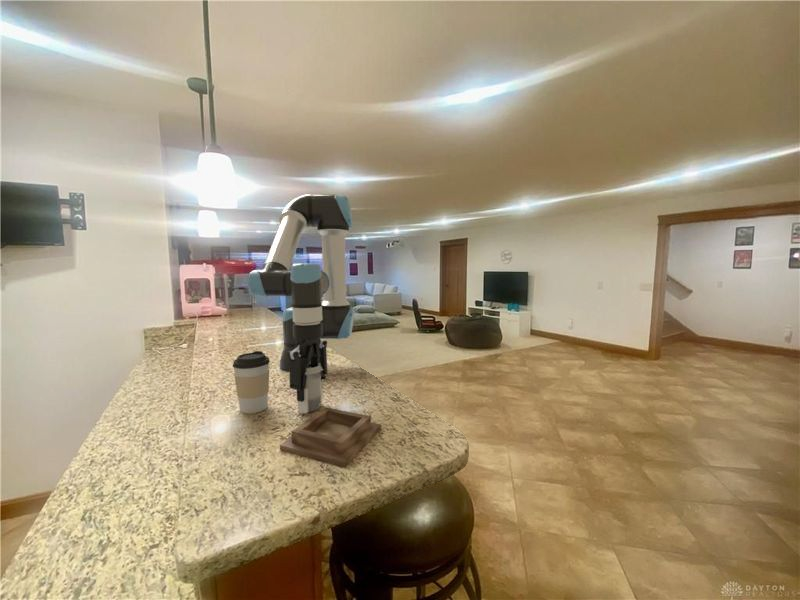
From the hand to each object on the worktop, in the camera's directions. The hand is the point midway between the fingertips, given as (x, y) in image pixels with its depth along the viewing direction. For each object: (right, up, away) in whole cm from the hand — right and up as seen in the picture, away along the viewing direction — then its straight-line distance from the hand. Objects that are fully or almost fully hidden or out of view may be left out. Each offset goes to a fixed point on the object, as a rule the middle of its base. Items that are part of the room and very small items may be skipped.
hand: (310, 406), depth 87 cm
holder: (+9, -2, -15) cm, 17 cm away
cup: (0, -1, 0) cm, 0 cm away
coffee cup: (-16, -1, +1) cm, 16 cm away
